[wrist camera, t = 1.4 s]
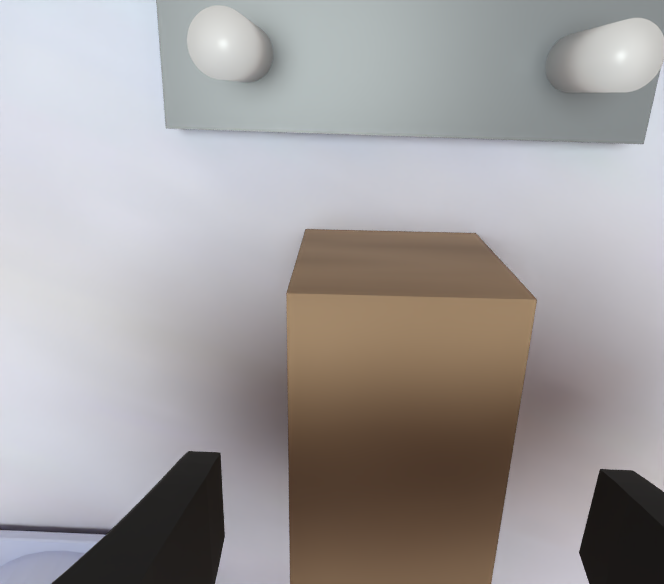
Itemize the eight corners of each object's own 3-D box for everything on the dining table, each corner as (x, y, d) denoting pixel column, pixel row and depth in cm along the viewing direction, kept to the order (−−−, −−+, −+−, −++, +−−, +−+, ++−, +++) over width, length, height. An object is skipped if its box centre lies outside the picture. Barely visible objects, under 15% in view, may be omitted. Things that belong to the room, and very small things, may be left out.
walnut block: (446, 477, 17) (484, 622, 12) (305, 472, 17) (290, 615, 12) (474, 232, 14) (537, 299, 10) (305, 228, 14) (286, 293, 10)
